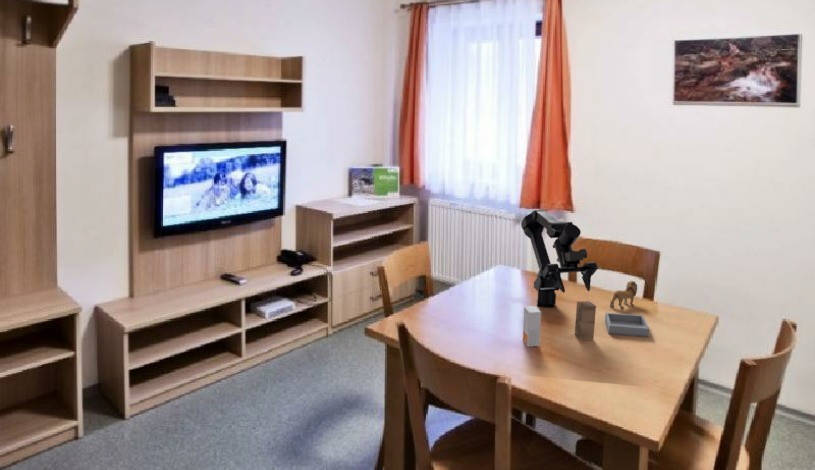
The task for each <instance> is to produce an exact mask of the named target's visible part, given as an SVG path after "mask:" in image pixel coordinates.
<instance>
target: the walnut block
mask: <svg viewBox="0 0 815 470" xmlns="http://www.w3.org/2000/svg"><path fill="white" fill-rule="evenodd" d="M596 310H597V306H596V305H595V304H594V303H592V301H590V300H586V301H584V300H583V301H576V311H575V326H574V336H575V337H576V338H577V339H578V340H580V341H581V342H583V341H594V336H595V335H594V334H595V323H596V312H597V311H596Z"/></svg>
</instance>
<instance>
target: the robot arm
mask: <svg viewBox="0 0 815 470" xmlns="http://www.w3.org/2000/svg"><path fill="white" fill-rule="evenodd" d="M520 226H521V229H522V231H523V233H524V235H525V236H526V237H527V238H528V239H530V243H531V247H532V249H533V252H534V256H535V259H536V263H537V266H538V272H537V275H536V279H535V280H534V282H533V289H535V290H536V291H537V300H536V307H545V308H555V305H556V304H557V303H556V300H557V293H556V291H561V292H562V293H565V292H566V289H565V286H564V283H563V279H562V276H561V275H562V274H563V273H565V274H566V273H580V274H581V275H582V276H581V279H582V281H583V284H584V286H585V289H586V290H587V292H590V291H591V281H592V280H591V279H592V276H593V275H594V274H595V273H596V272H597V270H598V269H599V265H598V263H596V262H595V261H590V262H587V261H586V262H585V263H583V265H580V264H581V261H584V259H587V258H588V252H587V249H586V248H581V249H579V250H573V247H572V246H573V245H574V244H575V243H576V241H578V239H579V237H580V235H581V232H582V231H581V229H580V228H579V227H578V226H577V225H576V224H574V223H573V222H572V221H563V220H557V219H555V218H554V216H551V215H550V214H549V213H548V211H547V210H546V209H534V210H532V211H531V213H528V214H527V215H526V216H524V217H523V219H522V221H521V223H520ZM544 229H546V232H545V233H546V234H547V236H548V237H549V238H550V239H555V240H554V242H553V244H552V249H555V252H556V255H557V259H556V262H558V263H559V264H558V263H551V260H550V257H549V253H548V251H547V247H546V243H545V240H544V237H543V232H544ZM579 265H580V266H579ZM561 273H562V274H561Z"/></svg>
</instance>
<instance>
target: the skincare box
mask: <svg viewBox="0 0 815 470" xmlns="http://www.w3.org/2000/svg"><path fill="white" fill-rule="evenodd" d="M523 307H524V308H523V324H522V325H523V326H522V341H523V342H524V344H525V345H526V347H529V348H530V346H531V347H533V346H537V347H540V342H541V325H542V323H541V321H542V311H541V310H540V308H539V307H538V306H537V305H533V306H532V305H529V306H528V305H524V306H523Z"/></svg>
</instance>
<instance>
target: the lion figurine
mask: <svg viewBox="0 0 815 470" xmlns="http://www.w3.org/2000/svg"><path fill="white" fill-rule="evenodd" d="M637 292H638V284H637V283H636V281H634V280H630V281H628V282H627V283H626V287H625V289H623V290H618V289H617V290H615V292H614V293H613V297H612V299H611V301H610V304H609V307H610V308H611V309H614V307H615V306H614V305H615V301H616V300H618V306H619V307H620V309H624V308H625V307H624V306H623V305H622V302H623V304H624V305H627V304H628V299H629V301H630V302H629V304H630V305H629V306H633V307H634V304H633V302H634V299H635V297H636V296H637Z"/></svg>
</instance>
